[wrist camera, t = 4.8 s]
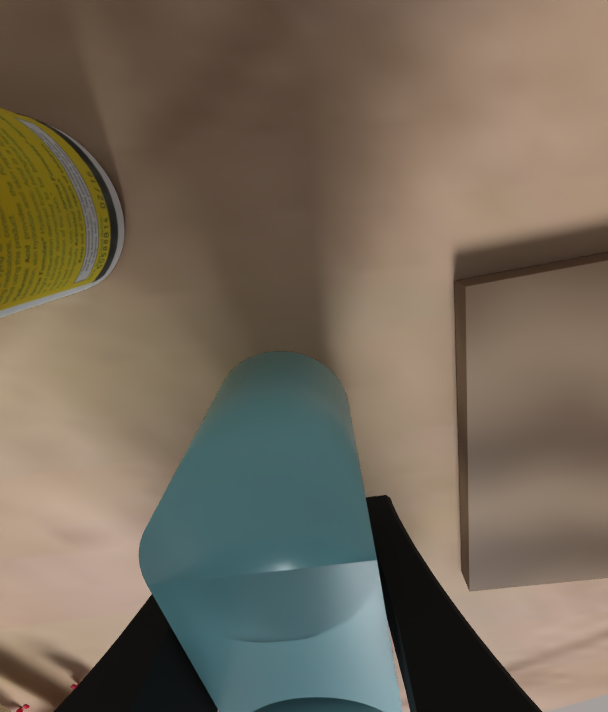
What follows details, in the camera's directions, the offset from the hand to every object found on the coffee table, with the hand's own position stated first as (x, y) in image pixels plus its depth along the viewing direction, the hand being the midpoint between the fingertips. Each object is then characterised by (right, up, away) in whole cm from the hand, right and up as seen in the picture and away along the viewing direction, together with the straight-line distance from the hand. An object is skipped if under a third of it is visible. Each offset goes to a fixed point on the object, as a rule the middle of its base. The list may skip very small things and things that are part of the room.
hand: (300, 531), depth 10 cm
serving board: (+12, +2, +5) cm, 14 cm away
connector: (0, -1, +2) cm, 2 cm away
